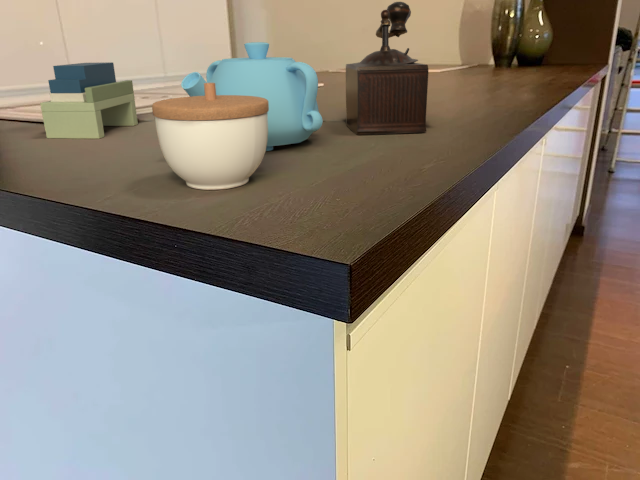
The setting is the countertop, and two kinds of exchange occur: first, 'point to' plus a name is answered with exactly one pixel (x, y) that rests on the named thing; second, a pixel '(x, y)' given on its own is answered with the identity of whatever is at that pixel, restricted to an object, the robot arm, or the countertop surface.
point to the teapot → (268, 90)
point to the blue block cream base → (79, 80)
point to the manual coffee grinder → (387, 84)
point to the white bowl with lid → (212, 137)
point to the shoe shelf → (91, 112)
